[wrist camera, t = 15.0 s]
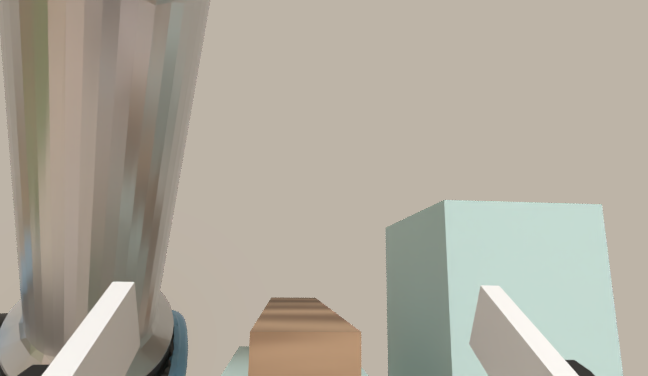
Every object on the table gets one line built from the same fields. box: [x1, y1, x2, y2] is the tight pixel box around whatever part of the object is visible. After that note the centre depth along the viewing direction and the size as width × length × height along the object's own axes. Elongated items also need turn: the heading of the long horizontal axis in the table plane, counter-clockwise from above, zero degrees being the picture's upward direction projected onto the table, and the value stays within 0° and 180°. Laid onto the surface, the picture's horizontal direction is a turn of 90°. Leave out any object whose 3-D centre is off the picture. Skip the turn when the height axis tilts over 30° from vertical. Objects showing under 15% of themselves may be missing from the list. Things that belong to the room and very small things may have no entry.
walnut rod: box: [248, 298, 361, 376], centre depth 26 cm, size 24×4×4 cm, turn 5°
